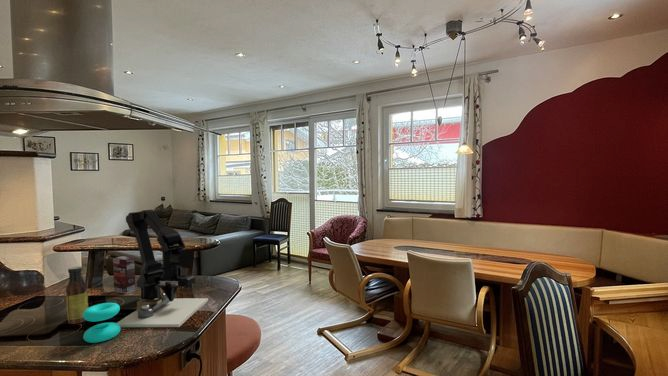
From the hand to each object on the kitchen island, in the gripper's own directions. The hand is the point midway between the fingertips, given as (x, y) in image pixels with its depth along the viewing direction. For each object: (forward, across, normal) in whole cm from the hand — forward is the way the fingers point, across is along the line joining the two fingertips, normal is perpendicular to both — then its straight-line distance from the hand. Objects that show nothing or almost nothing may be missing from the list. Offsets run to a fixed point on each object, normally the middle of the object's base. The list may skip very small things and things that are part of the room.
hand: (171, 301), depth 134 cm
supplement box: (+2, +34, -12) cm, 36 cm away
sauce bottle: (+2, +25, +19) cm, 31 cm away
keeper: (+1, +4, +8) cm, 9 cm away
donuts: (+2, +5, +27) cm, 28 cm away
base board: (+2, -2, +6) cm, 7 cm away
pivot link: (+1, +2, +6) cm, 7 cm away
